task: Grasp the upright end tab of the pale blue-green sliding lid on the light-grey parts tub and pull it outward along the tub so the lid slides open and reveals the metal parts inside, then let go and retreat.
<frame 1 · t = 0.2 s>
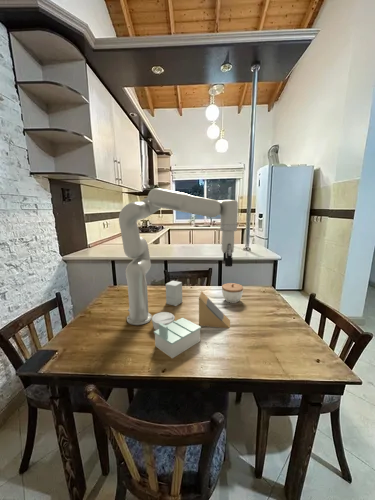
hand: (227, 263, 109), 31 cm above the table, tool pointing down, fingers open, 9 cm apart
parts tub: (178, 343, 99), on the table
lid: (177, 324, 98), point 9 cm above the table, slide at 0.0 cm
sandwich container: (214, 323, 117), on the table
lidded bowl: (232, 300, 142), on the table
ramekin: (163, 327, 113), on the table
supplement box: (174, 303, 140), on the table
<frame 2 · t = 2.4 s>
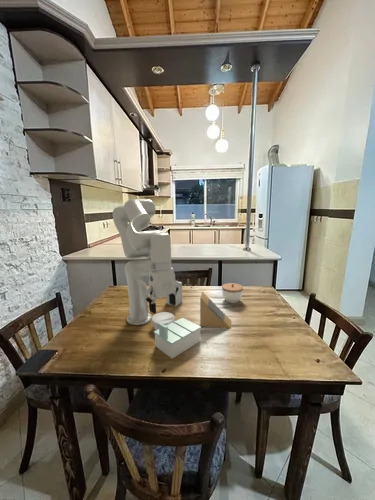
hand: (163, 308, 90), 19 cm above the table, tool pointing down, fingers open, 9 cm apart
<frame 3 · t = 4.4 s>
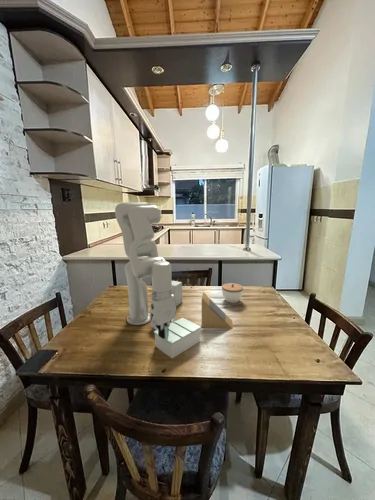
hand: (163, 336, 93), 7 cm above the table, tool pointing down, fingers closed
lid: (177, 324, 98), point 9 cm above the table, slide at 0.0 cm, touching gripper
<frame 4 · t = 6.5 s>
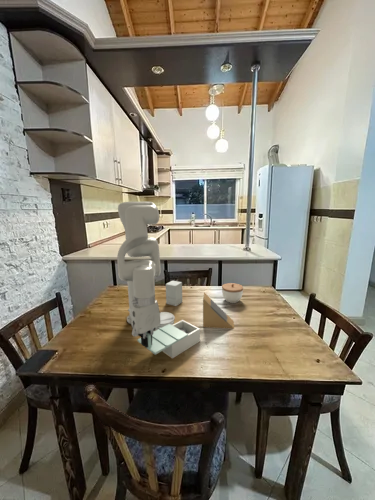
hand: (147, 344, 87), 7 cm above the table, tool pointing down, fingers closed
lid: (162, 332, 92), point 9 cm above the table, slide at 8.0 cm, touching gripper
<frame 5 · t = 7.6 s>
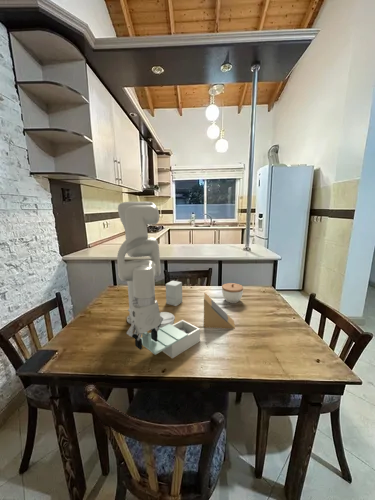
hand: (146, 343, 87), 8 cm above the table, tool pointing down, fingers open, 6 cm apart
lid: (162, 332, 92), point 9 cm above the table, slide at 8.0 cm
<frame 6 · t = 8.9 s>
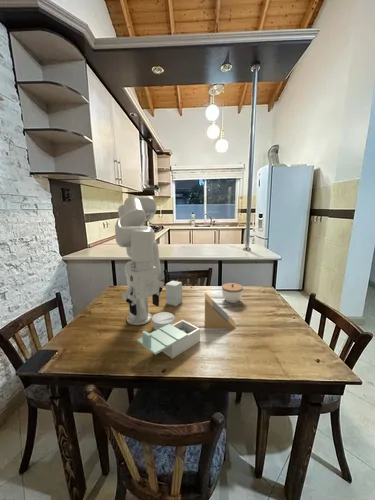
hand: (145, 309, 85), 21 cm above the table, tool pointing down, fingers open, 9 cm apart
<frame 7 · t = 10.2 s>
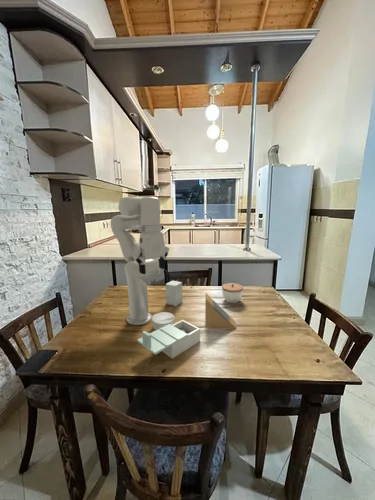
hand: (152, 270, 94), 32 cm above the table, tool pointing down, fingers open, 9 cm apart
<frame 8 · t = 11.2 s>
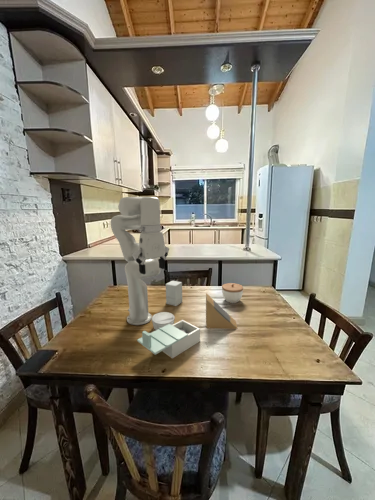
hand: (152, 270, 94), 32 cm above the table, tool pointing down, fingers open, 9 cm apart
at the end: lid slide at 8.0 cm; the gripper is holding nothing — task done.
